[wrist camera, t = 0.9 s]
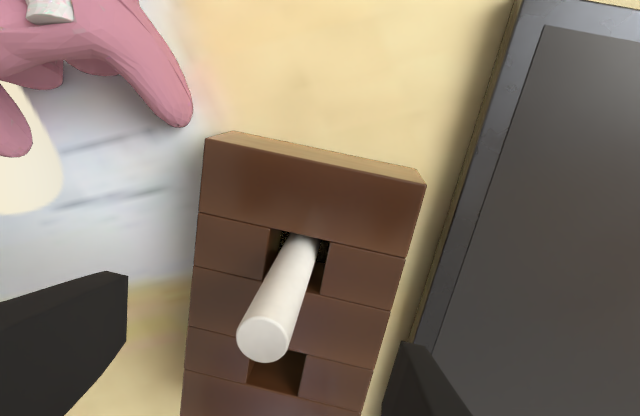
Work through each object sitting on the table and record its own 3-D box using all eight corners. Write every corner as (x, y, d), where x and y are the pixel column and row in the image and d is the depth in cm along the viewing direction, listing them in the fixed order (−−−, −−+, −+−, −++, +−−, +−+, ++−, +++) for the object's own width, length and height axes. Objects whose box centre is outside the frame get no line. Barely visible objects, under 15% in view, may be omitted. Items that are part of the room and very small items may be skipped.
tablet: (673, 508, 20) (689, 530, 19) (377, 433, 21) (378, 450, 20) (976, 78, 13) (1027, 77, 12) (515, -5, 14) (526, -12, 13)
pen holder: (350, 410, 20) (347, 461, 18) (204, 374, 21) (178, 418, 18) (417, 169, 16) (427, 184, 13) (232, 130, 17) (204, 137, 14)
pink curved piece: (200, 39, 17) (76, -113, 10) (204, 132, 16) (72, 33, 10) (20, 79, 19) (-190, -29, 12) (15, 166, 18) (-214, 102, 11)
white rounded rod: (318, 253, 18) (283, 369, 10) (288, 246, 18) (232, 356, 10) (324, 224, 17) (292, 324, 10) (293, 217, 18) (238, 311, 10)
